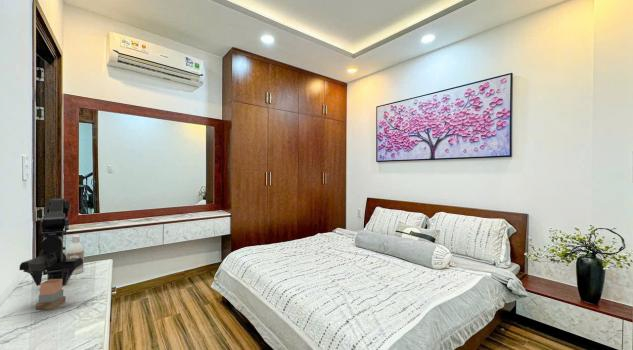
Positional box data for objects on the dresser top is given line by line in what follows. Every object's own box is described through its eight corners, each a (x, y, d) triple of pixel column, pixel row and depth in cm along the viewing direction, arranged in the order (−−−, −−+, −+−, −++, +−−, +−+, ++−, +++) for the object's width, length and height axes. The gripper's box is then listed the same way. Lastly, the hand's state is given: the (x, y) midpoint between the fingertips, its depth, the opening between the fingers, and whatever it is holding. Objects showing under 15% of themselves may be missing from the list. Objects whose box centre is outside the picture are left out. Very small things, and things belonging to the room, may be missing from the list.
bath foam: (64, 276, 137) (65, 237, 137) (67, 271, 142) (69, 235, 143) (81, 273, 140) (83, 236, 141) (84, 269, 146) (85, 234, 147)
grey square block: (38, 302, 103) (38, 295, 103) (49, 297, 108) (50, 289, 108) (52, 302, 103) (52, 294, 103) (63, 296, 108) (63, 289, 108)
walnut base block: (35, 311, 102) (36, 303, 102) (48, 304, 108) (49, 296, 108) (53, 310, 103) (53, 302, 103) (65, 303, 109) (65, 296, 109)
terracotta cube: (39, 295, 103) (40, 283, 103) (49, 290, 107) (50, 279, 107) (52, 294, 104) (53, 283, 104) (62, 289, 108) (62, 278, 108)
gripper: (6, 252, 96) (4, 295, 96) (64, 251, 100) (62, 292, 99) (33, 244, 107) (31, 283, 107) (84, 244, 111) (83, 281, 110)
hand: (51, 285), depth 106 cm, fingers open, 9 cm apart
